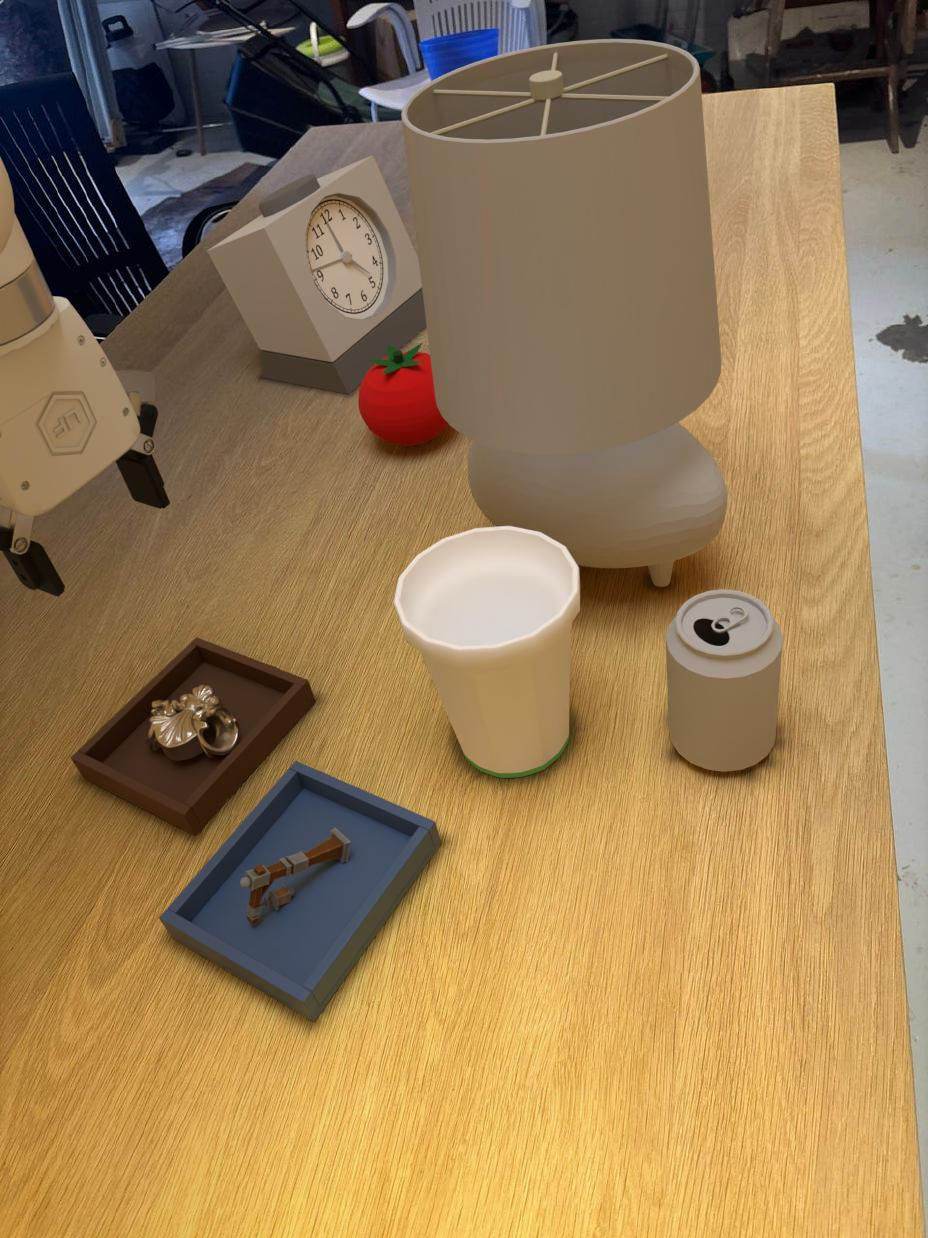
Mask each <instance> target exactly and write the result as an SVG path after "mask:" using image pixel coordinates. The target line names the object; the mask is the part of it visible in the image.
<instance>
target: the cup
mask: <svg viewBox="0 0 928 1238" xmlns="http://www.w3.org/2000/svg"><path fill="white" fill-rule="evenodd" d="M392 603H393V606H394V609H395V612H396V615H397V618H398V620H399V624H400V626H401V630H402V632H403V634H404V637H405V639H406V643H408V644H409V645H410V646H412V647H413V648H414V649H416V650H417V651H418V652H419V653H420V655H421V658H422V659H423V662H424V664H425V667H426V669H427V671H428V674H429V675H430V678H431V680H432V682H433V685H434V688H435V689H436V692H437V695H438V697H439V699H440V701H441V704H442V706H443V708H444V710H445V713H446V716H447V717H448V720H449V722H450V724H451V725H450V726H451V727H452V729H453V731H454V734H455V736H456V739H457V740H458V743H459V745H460V748H461V751H462V754H463V756H464V758H465V760H466V761H467V762H468V763H469V764H470V765H472V766H473V768H475V769H477V770H478V771H480V772H482V773H484V774H486V775H489V776H492V777H496V778H500V779H505V778H506V779H510V778H511V779H512V778H524V777H527V776H530V775H533V774H536V773H539V772H542V771H545V770H546V769H547V768H548V767H549V766H551V765H552V764H554V763H555V761H557V760H558V759H559V758H560V757H561V755H562V754H563V752H564V751H565V749H566V747H567V745H568V744H569V742H570V733H571V732H570V704H571V703H570V702H571V669H572V668H571V665H572V664H571V663H572V628H573V627H572V626H573V625H572V624H573V622H574V621H575V619H576V617H577V616H578V615H579V613H580V611H581V578H580V567H579V565H577V564H576V562H575V561H574V559H573V557H572V556H571V554H570V553H569V551H568V549H567V548H566V547H565V546H564V545H562V544H560V543H559V542H557V541H555V540H553V539H552V538H550V537H548V536H546V535H545V534H543V533H541V532H538V531H533V530H528V529H523V528H518V527H513V526H500V527H496V526H486V527H475V528H472V529H469V530H466V531H462V532H459V533H456V534H453V535H450V536H446V537H444V538H442V539H439V541H436V543H434V544H432V545H431V546H429V547H428V548H425V549H424V550H423V551H421V552H420V553H418V554H417V555H416V556H415V557H414V558H413V559H412V561H411V562H410V563H409V564H408V565H407V567H405V569H404V570H403V572H402V573H401V574H400V575H399V577H398V578H397V583H396V588H395V593H394V597H393V602H392Z"/></svg>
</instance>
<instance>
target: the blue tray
mask: <svg viewBox="0 0 928 1238" xmlns="http://www.w3.org/2000/svg"><path fill="white" fill-rule="evenodd" d="M334 828H336V829H337V830H338V831H339V832H340V833H342V834H343V835H344V836H345V837H346V838H347V839H348V840H349V841H350V849H349V856H348V862H344V863H342V862H341V861H340V860H339V859H332V860H329V861H325V862H322V863H318V864H315V865H312V866H310V867H308V870H306V871H302V872H300V873H297V874H296V875H294V876H293V875H292V874H290V878H287V879H286V878H285V877H281V878H278V879H275V880H274V882H273V883H272V884H271V886H270V887H269V889H271V890H272V891H275V890H277V889H279V888H281V887H282V886H283V885H285V886H286V887H287V888H293V889H294V890H295V894H294V895H293V896H292V897H291V900H290V903H285V904H282V905H279V906H278V910H276V909H275V908H274V907H273V906H272V905H271V906H270V905H269V908H268V907H266V906H265V907H263V908H261V914H259V922H257V923H254V924H251V923H250V922H249V921H248V920H247V916H248V915H247V913H248V912H247V904H248V902H249V900H250V892H251V889H250V888H249V887H248V888H243V887H242V886H241V885H240V881H241V879H242V878H244V877H245V874H246V871H249V870H252V869H254V867H255V866H257V865H260V864H261V865H263V866H264V867H267V866H270V865H273V864H275V863H278V862H279V860H280V859H282V858H284V859H285V860H286V856H292V855H294V854H297V853H299V852H300V851H301V852H302V853H304V852H307V851H309V850H311V849H312V848H314V847H316V846H317V845H319V844H321V843H322V842H324V841H326V840H327V839H328V838H330V833H331V830H333V829H334ZM441 845H442V841H441V837H440V833H439V829H438V826H437V823H436V821H435V820H433V819H431V818H428V817H426V816H424V815H422V814H420V813H417V812H414V811H412V810H410V809H408V808H405V807H403V806H401V805H398V804H397V803H394V802H392V801H390V800H387V799H385V798H382V797H381V796H378V795H376V794H373V793H371V792H369V791H367V790H364V789H362V788H360V787H358V786H355V785H353V784H350V783H349V782H346V781H343V780H341V779H339V778H337V777H335V776H332V775H330V774H328V773H325V772H324V771H321V770H318V769H317V768H314V767H311V766H309V765H307V764H306V763H302V762H301V761H298V760H294V761H293V763H292V764H291V765H290V766H289V768H287V770H286V771H285V772H284V773H283V774H282V776H281V777H280V778H279V779H278V780H277V781H276V782H275V783H274V784H273V786H272V787H271V788H270V789H269V790H268V792H267V793H266V794H265V795H264V796H263V798H261V800H260V801H259V802H258V803H257V804H256V806H254V808H253V809H252V810H251V811H250V812H249V813H248V815H246V817H245V818H244V819H243V821H241V823H240V824H239V825H238V826H237V827H236V828H235V829H234V831H233V832H232V833H231V834H230V835H229V837H228V838H227V839H226V840H225V841H224V842H223V843H222V845H220V847H219V848H218V849H217V850H216V852H215V853H214V854H213V855H212V856H211V857H210V858H209V859H208V861H207V862H206V863H205V864H204V865H203V866H202V868H201V869H200V870H199V871H198V872H197V874H196V875H195V876H194V877H193V878H192V879H191V880H190V881H189V883H188V884H187V885H186V886H185V887H184V889H182V891H181V892H180V893H179V894H177V896H176V897H175V898H174V900H173V901H172V902H171V903H170V904H169V906H167V908H166V909H164V911H163V912H162V913H161V914H160V916H159V917H158V919H159V920H160V922H161V923H162V926H163V927H164V928H165V929H166V932H167V933H168V935H170V937H171V938H172V939H173V940H175V941H176V942H178V943H180V944H181V945H183V946H185V947H187V948H188V949H190V950H192V951H193V952H195V953H196V954H199V955H200V956H202V957H203V958H204V959H207V960H208V961H210V962H212V963H214V964H215V965H217V966H218V967H220V968H222V969H224V970H225V971H226V972H229V973H230V974H232V975H234V976H235V977H237V978H239V979H241V980H242V981H244V982H246V983H247V984H249V985H251V986H252V987H254V988H256V989H257V990H259V991H261V992H263V993H264V994H266V995H268V996H269V997H271V998H273V999H274V1000H276V1001H278V1002H280V1003H281V1004H283V1005H285V1006H286V1007H288V1008H289V1009H291V1010H293V1011H294V1012H296V1013H298V1014H300V1015H301V1016H303V1017H305V1018H306V1019H308V1020H309V1021H311V1022H313V1023H315V1022H316V1020H318V1017H319V1016H320V1015H321V1013H322V1012H323V1011H324V1010H325V1008H326V1007H327V1005H328V1003H329V1002H330V1000H332V998H333V996H334V995H335V994H336V992H337V991H338V990H339V988H340V987H341V986H342V984H343V983H344V982H345V980H346V978H348V975H349V974H350V973H351V971H352V970H353V968H354V967H355V966H356V964H357V963H358V961H359V960H360V959H361V958H362V956H363V954H364V953H365V952H366V950H367V949H368V947H370V945H371V944H372V942H373V940H374V939H375V938H376V936H377V935H378V933H379V932H380V930H381V929H382V928H383V926H384V925H385V923H386V922H387V921H388V919H389V918H390V917H391V915H392V913H393V912H394V911H395V909H396V908H397V907H398V905H399V904H400V903H401V901H402V900H403V898H404V897H405V895H406V894H407V893H408V891H409V890H410V889H411V887H412V885H413V884H414V883H415V881H416V880H417V879H418V877H419V876H420V874H421V873H422V872H423V870H424V869H425V868H426V866H427V865H428V863H429V862H430V861H431V859H432V857H433V856H434V855H435V853H436V852H437V850H438V849H439V848H440V847H441ZM269 889H268V890H267V891H266V893H265V894H264V896H263V897H262V900H261V903H262V902H263V901H264V897H266V899H267V897H269ZM263 904H264V903H263Z"/></svg>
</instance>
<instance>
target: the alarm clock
mask: <svg viewBox="0 0 928 1238" xmlns="http://www.w3.org/2000/svg"><path fill="white" fill-rule="evenodd" d="M258 209H259V211H260V213H261V215H259V216H258V217H256V218H255V219H253V220H251V221H249V223H247V224H245V225H244V226H242V227H241V228H239V229H238V230H237V231H235V232H233V233H232V234H229V236H227V237H226V238H224V239H222V240H221V241H220V242H218V243H216V244H215V245H213V246H212V247H211V248H209V249H208V250H206V252H207V254H208V256H209V259H211V261H212V263H213V265H214V267H215V269H216V271H217V272H218V274H219V276H220V278H221V280H222V282H223V283H224V285H225V287H226V289H227V291H228V293H229V294H230V297H231V298H232V300H233V303H234V304H235V306H236V308H237V310H238V311H239V313H240V315H241V317H242V319H243V321H244V323H245V324H246V327H247V328H248V330H249V332H250V334H251V336H252V338H253V339H254V341H255V343H256V345H257V347H258V348H259V350H261V351H260V359H261V375H262V378H263V379H267V380H268V379H269V380H272V381H273V380H274V381H279V382H283V383H288V384H294V385H298V386H304V387H309V388H315V389H318V390H323V391H330V392H335V393H340V394H345V395H350V394H351V393H352V392H353V391H355V390H356V389H357V388H358V387H360V385H361V383H362V380H363V379H364V377H365V375H366V374H367V372H368V371H369V370H370V368H371V367H373V366H374V365H375V363H372V362H369V361H367V360H379V359H383V358H385V357H387V356H388V353H387V344H389V345H391V346H392V347H394V348H395V349H396V350H398V351H400V350H401V349H402V348H403V347H404V346H406V345H407V344H408V343H409V342H410V341H411V340H412V339H413V338H415V337H416V336H417V335H418V334H419V333H420V332H422V330H423V329H424V328H427V324H426V316H425V308H424V299H423V291H422V283H421V274H420V266H419V258H418V254H417V252H416V250H415V248H414V246H413V244H412V241H411V238H410V237H409V234H408V232H407V230H406V228H405V225H404V223H403V221H402V218H401V216H400V214H399V211H398V209H397V207H396V205H395V202H394V200H393V198H392V195H391V193H390V191H389V188H388V186H387V184H386V181H385V179H384V177H383V175H382V173H381V170H380V167H379V166H378V164H377V161H376V158H375V157H374V155H373V154H372V155H370V156H368V157H365V158H363V159H360V160H357V161H356V162H353V163H351V164H348V165H346V166H344V167H342V168H339V169H337V170H335V171H332V172H330V173H327V174H326V175H323V176H321V177H319V178H317V177H316V175H314V174H313V173H311V174H307V175H304V176H303V177H300V178H297V179H296V180H293V181H292V182H290V183H288V184H286V185H284V186H282V187H281V188H279V189H277V190H275V191H274V192H272V193H270V194H269V195H267V196H266V197H264V198H263V199H261V200H260V201H259V203H258Z"/></svg>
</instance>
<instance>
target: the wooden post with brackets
mask: <svg viewBox="0 0 928 1238" xmlns="http://www.w3.org/2000/svg"><path fill="white" fill-rule="evenodd" d="M349 849H350V841H349V840H348V839H347V838H346V837H345V836H344V835H343V834H342V833H340V832H339V831H338V830H337V829H336V828H334V829H333V830H331V833H330V838H328V839H327V840H326V841H324V842H322V843H321V844H319V845H317V846H316V847H314V848H312V849H311V850H309V851H307V852H304V853H302V852H301V851H300V852H299V853H297V854H294V855H292V856H286V860H285V859H284V858H282V859H280V860H279V862H278V863H275V864H273V865H270V866H267V867H264V866H263V865H261V864H260V865H257V866H255V867H254V869H252V870H249V871H246V874H245V877H244V878H242V879H241V881H240V885H241V886H242V887H243V888H248V887H249V888H250V889H251V892H250V900H249V902H248V904H247V912H248V913H247V915H248V916H247V920H248V921H249V922H250V923H251V924H254V923H257V922H259V914H261V908H263V907H265V906H266V907H268V908H269V905H270V906H271V905H272V906H273V907H274V908H275V909H276V910H278V906H279V905H282V904H285V903H290V900H291V897H292V896H293V895H294V894H295V890H294V889H293V888H287V887H286V886H285V885H283V886H282V887H281V888H279V889H277V890H275V891H272V890H271V889H269V887H270V886H271V884H272V883H273V882H274V880H275V879H278V878H281V877H285V878H286V879H287V878H290V874H292V875H293V876H294V875H296V874H297V873H300V872H302V871H306V870H308V867H310V866H312V865H315V864H318V863H322V862H325V861H329V860H332V859H339V860H340V861H341V862H342V863H344V862H348V856H349ZM268 889H269V897H267V899H266V897H264V901H263V902H262V903H261V900H262V897H263V896H264V894H265V893H266V891H267V890H268ZM263 903H264V904H263Z"/></svg>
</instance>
